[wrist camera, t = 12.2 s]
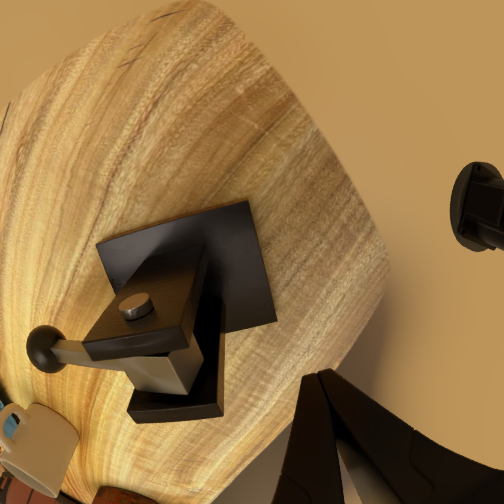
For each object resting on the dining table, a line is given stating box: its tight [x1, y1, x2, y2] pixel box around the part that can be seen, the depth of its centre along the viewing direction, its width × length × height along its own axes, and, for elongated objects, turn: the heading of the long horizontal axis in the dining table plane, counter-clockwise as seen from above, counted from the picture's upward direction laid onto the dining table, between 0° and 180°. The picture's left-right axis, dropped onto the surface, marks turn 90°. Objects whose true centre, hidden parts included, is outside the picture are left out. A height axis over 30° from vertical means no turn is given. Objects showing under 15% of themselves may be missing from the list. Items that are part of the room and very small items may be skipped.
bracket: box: [82, 198, 277, 424], centre depth 15 cm, size 11×9×11 cm
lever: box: [26, 325, 204, 395], centre depth 13 cm, size 12×3×3 cm, turn 104°
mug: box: [0, 403, 79, 498], centre depth 20 cm, size 12×8×11 cm
